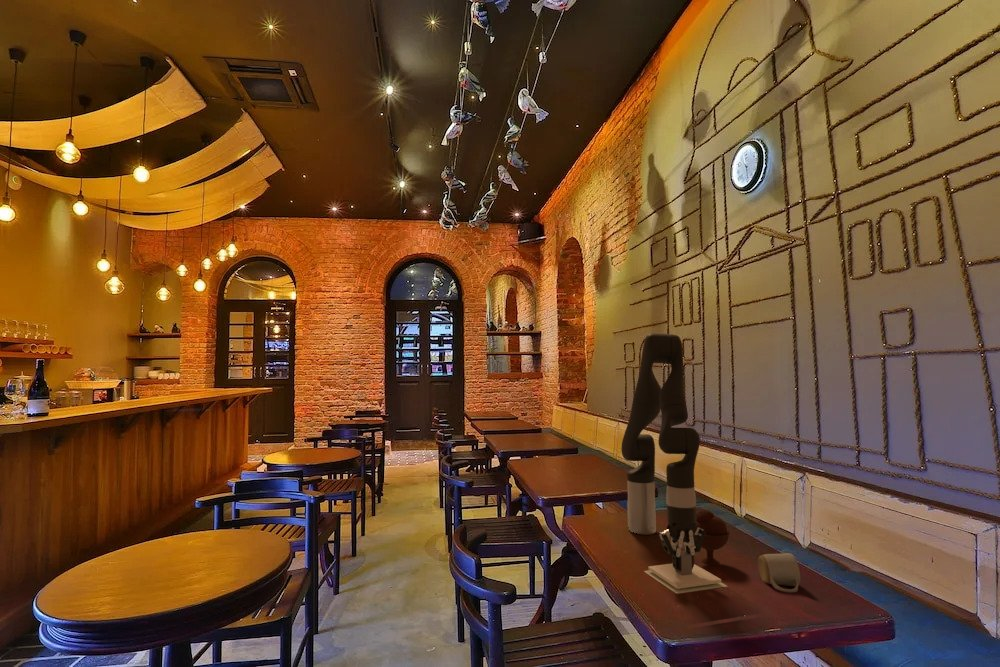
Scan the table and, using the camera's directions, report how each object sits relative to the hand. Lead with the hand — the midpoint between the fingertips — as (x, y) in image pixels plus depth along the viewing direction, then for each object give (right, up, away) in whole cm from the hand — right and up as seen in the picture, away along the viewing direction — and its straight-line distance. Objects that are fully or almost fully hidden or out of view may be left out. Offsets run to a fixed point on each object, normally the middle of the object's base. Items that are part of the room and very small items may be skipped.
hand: (683, 569), depth 134 cm
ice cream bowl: (+12, -4, +11) cm, 17 cm away
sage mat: (0, -3, 0) cm, 3 cm away
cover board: (0, -2, 0) cm, 2 cm away
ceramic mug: (+24, -3, -4) cm, 25 cm away
